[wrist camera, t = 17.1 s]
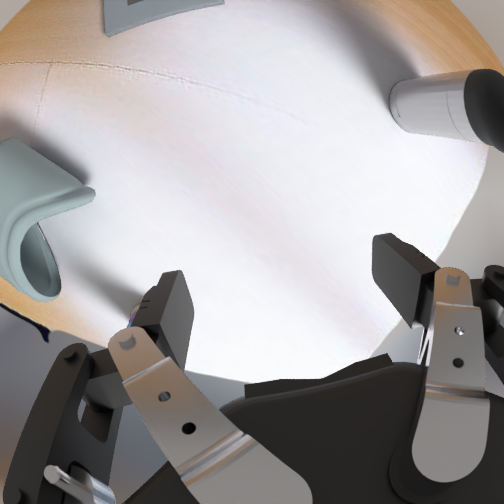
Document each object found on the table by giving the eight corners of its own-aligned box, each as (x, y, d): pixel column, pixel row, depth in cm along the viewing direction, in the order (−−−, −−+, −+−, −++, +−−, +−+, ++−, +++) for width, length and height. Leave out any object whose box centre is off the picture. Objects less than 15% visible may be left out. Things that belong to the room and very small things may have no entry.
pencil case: (32, 133, 32) (-17, 144, 21) (109, 184, 39) (71, 208, 27) (4, 234, 39) (-33, 263, 28) (70, 282, 45) (40, 323, 34)
